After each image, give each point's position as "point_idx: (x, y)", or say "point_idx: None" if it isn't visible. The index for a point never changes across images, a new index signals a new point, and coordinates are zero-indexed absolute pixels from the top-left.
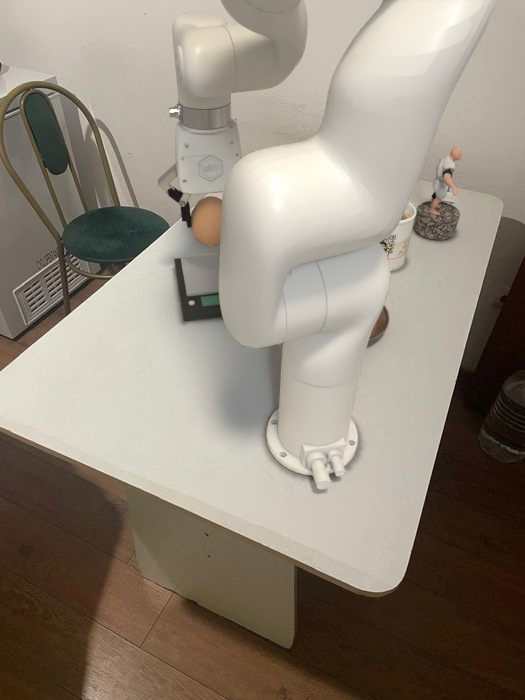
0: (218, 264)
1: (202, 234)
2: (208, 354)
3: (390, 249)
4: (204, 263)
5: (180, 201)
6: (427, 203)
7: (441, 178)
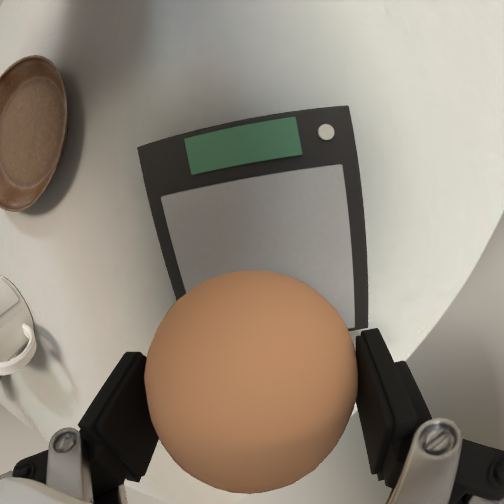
0: None
1: (300, 288)
2: (272, 11)
3: None
4: None
5: (455, 445)
6: None
7: None
